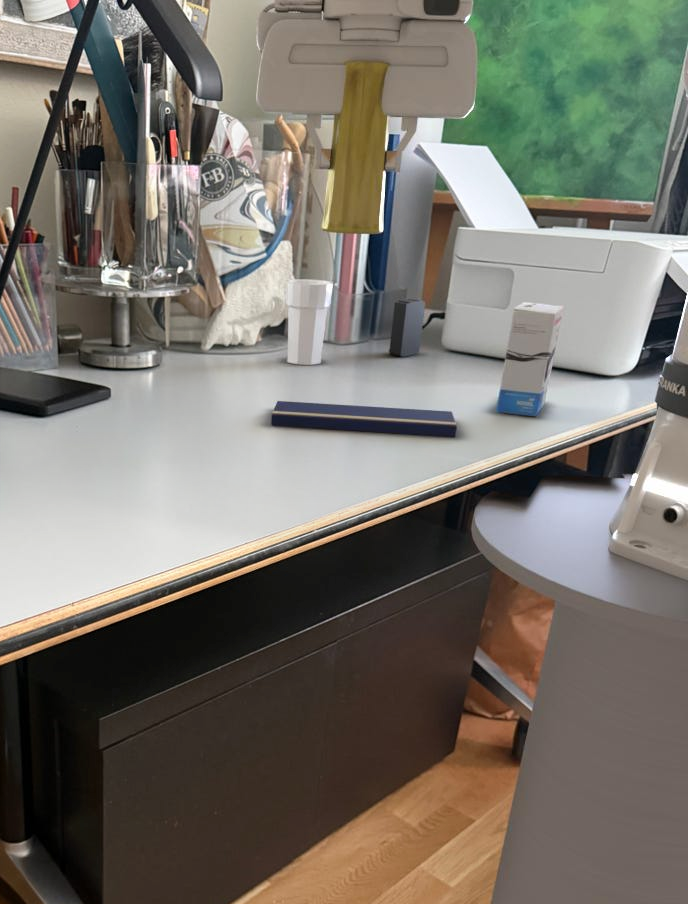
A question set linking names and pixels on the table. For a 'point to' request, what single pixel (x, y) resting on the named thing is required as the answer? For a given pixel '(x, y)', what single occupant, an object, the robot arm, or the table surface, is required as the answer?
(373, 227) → the vase
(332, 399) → the table surface
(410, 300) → the ink cartridge
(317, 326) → the cup
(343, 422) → the navy blue flat box
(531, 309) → the ink box
